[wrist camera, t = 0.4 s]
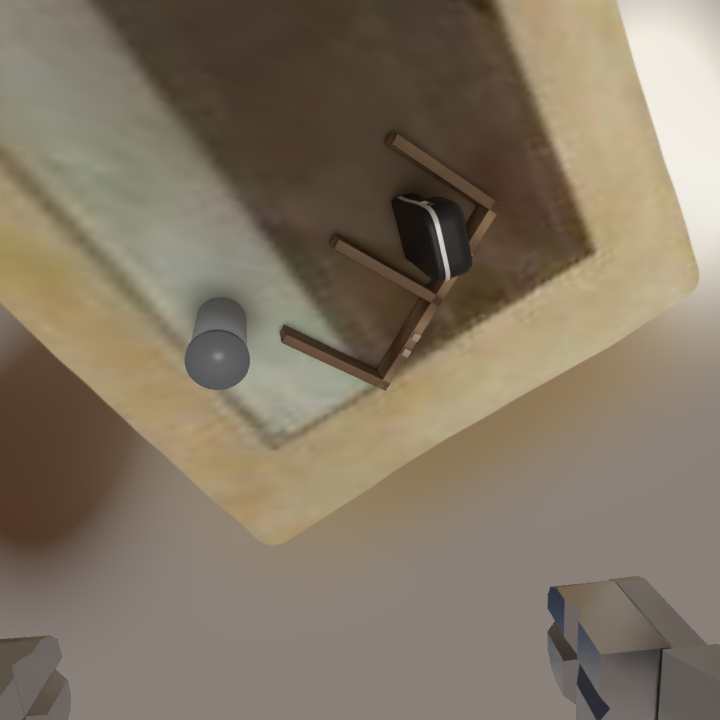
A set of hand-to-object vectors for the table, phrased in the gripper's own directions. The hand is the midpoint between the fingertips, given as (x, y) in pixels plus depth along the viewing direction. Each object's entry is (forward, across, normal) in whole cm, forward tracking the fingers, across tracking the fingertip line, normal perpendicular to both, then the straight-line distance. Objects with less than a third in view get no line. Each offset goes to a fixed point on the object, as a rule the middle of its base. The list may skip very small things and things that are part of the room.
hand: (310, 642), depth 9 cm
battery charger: (+50, -10, -8) cm, 51 cm away
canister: (+48, +11, +1) cm, 49 cm away
